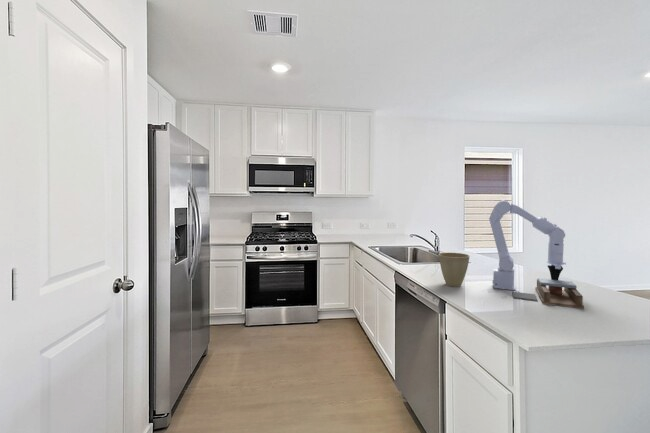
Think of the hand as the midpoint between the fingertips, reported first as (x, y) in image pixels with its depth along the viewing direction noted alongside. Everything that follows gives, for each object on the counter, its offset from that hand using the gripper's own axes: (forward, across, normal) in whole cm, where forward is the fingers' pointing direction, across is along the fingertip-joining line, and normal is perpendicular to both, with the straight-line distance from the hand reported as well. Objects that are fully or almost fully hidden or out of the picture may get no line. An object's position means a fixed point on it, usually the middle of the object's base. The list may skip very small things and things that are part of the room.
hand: (554, 281), depth 148 cm
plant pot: (+6, -5, +44) cm, 45 cm away
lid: (0, -5, 0) cm, 5 cm away
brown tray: (+6, -8, 0) cm, 10 cm away
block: (+6, -2, 0) cm, 6 cm away
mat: (+6, -12, +13) cm, 19 cm away
